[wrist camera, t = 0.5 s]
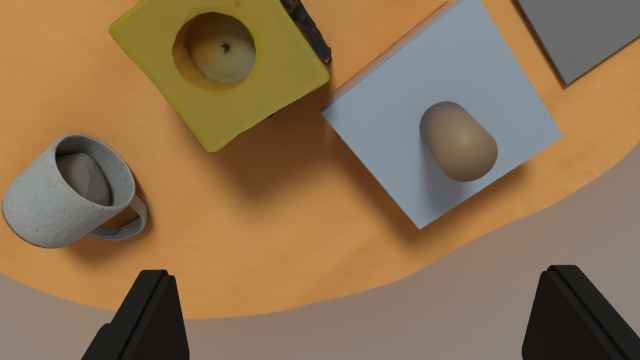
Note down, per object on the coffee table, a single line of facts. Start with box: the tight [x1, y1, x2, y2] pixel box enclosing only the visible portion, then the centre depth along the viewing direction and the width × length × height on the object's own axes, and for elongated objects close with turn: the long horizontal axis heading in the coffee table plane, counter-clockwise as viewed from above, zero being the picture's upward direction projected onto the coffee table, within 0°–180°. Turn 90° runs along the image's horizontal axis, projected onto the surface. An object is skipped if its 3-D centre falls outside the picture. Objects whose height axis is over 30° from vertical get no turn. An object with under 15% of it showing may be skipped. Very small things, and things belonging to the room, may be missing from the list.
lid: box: [321, 0, 563, 230], centre depth 30 cm, size 13×13×7 cm
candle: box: [108, 0, 332, 153], centre depth 31 cm, size 10×10×10 cm
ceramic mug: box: [2, 134, 147, 248], centre depth 38 cm, size 11×8×8 cm
